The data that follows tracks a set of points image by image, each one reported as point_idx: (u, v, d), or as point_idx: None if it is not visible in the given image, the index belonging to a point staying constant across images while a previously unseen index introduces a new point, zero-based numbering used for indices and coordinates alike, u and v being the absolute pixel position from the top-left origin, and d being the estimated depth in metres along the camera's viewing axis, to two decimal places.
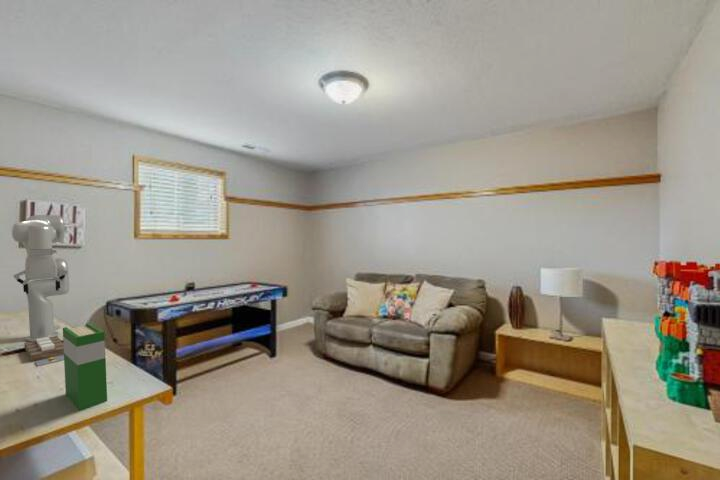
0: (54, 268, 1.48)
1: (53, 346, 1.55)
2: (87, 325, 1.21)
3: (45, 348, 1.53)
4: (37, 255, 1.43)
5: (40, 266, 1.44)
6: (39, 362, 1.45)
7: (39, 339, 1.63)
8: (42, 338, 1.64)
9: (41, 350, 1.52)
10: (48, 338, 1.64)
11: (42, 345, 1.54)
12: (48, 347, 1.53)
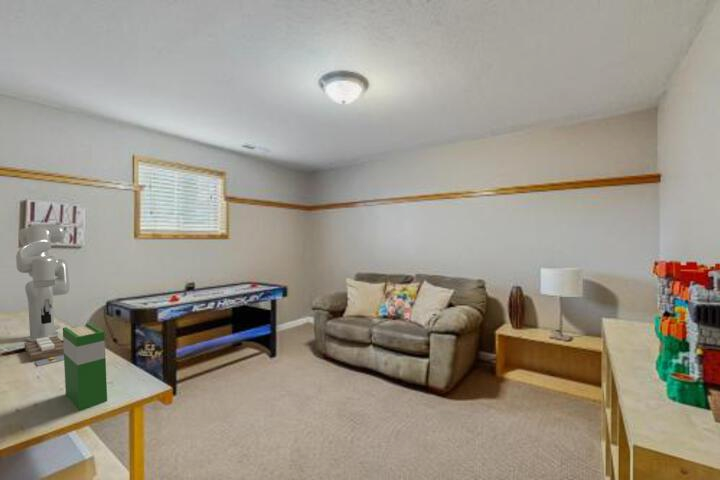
0: None
1: (53, 346, 1.55)
2: (87, 325, 1.21)
3: (45, 348, 1.53)
4: (55, 284, 1.56)
5: None
6: (39, 362, 1.45)
7: (39, 339, 1.63)
8: (42, 338, 1.64)
9: (41, 350, 1.52)
10: (48, 338, 1.64)
11: (42, 345, 1.54)
12: (48, 347, 1.53)
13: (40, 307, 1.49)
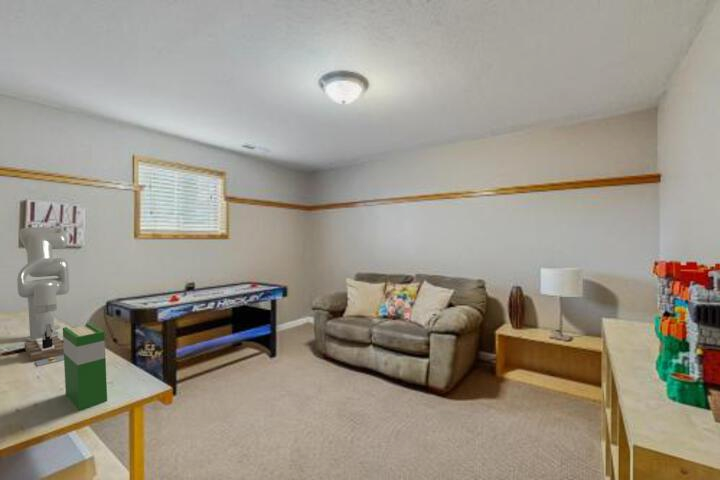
0: None
1: (53, 348, 1.55)
2: (87, 325, 1.21)
3: None
4: (56, 308, 1.56)
5: None
6: (39, 362, 1.45)
7: (39, 339, 1.63)
8: (42, 338, 1.64)
9: None
10: None
11: (42, 347, 1.55)
12: (48, 349, 1.54)
13: (41, 332, 1.49)
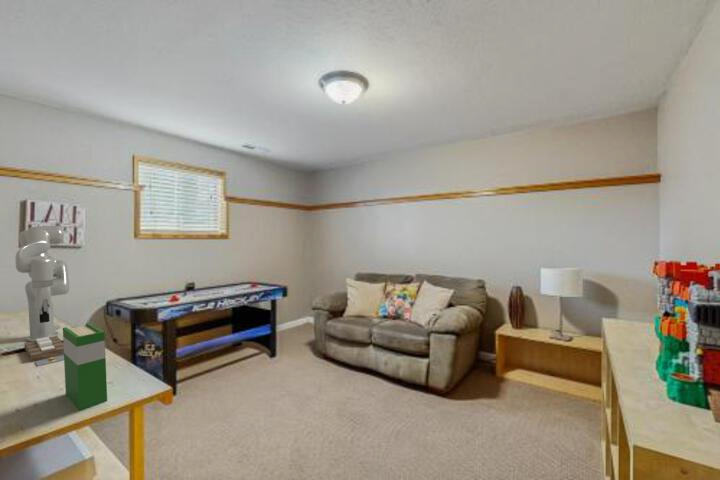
0: None
1: (53, 348, 1.55)
2: (87, 325, 1.21)
3: None
4: (53, 284, 1.59)
5: None
6: (39, 362, 1.45)
7: (39, 339, 1.63)
8: (42, 338, 1.64)
9: None
10: (48, 338, 1.64)
11: (42, 347, 1.55)
12: (48, 349, 1.54)
13: (38, 307, 1.53)
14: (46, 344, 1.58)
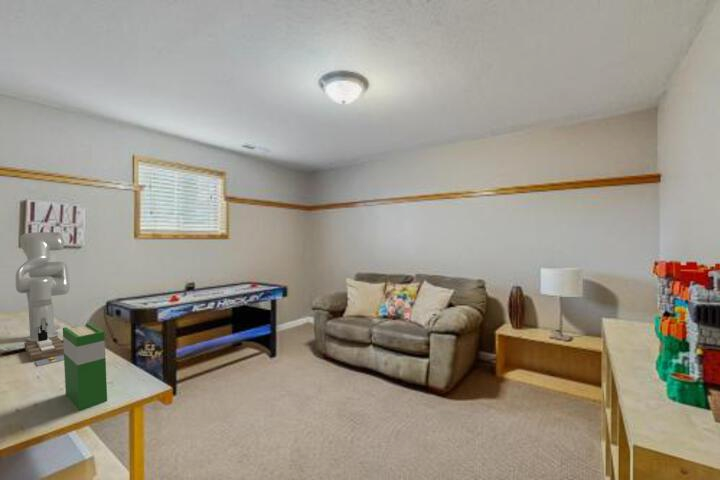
0: None
1: (53, 348, 1.55)
2: (87, 325, 1.21)
3: None
4: (51, 303, 1.65)
5: None
6: (39, 362, 1.45)
7: None
8: None
9: None
10: (48, 339, 1.64)
11: (42, 347, 1.55)
12: (48, 349, 1.54)
13: (37, 326, 1.58)
14: (46, 344, 1.58)
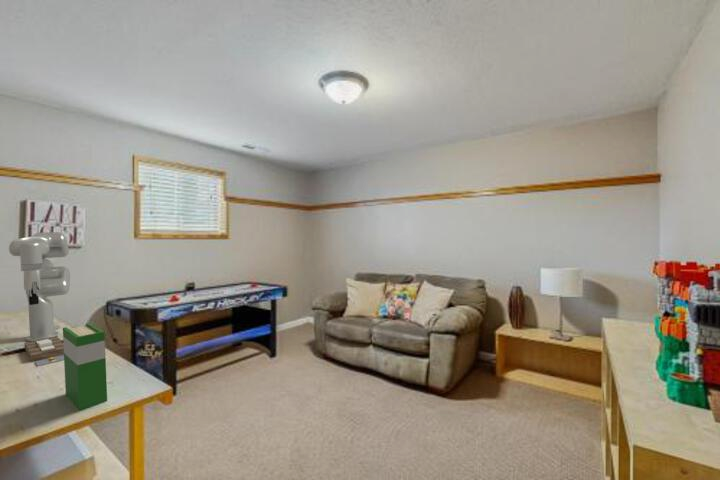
0: None
1: (53, 348, 1.55)
2: (87, 325, 1.21)
3: None
4: (42, 268, 1.64)
5: None
6: (39, 362, 1.45)
7: (39, 341, 1.63)
8: (42, 340, 1.64)
9: None
10: None
11: (42, 347, 1.55)
12: (48, 349, 1.54)
13: (28, 289, 1.58)
14: (46, 344, 1.58)
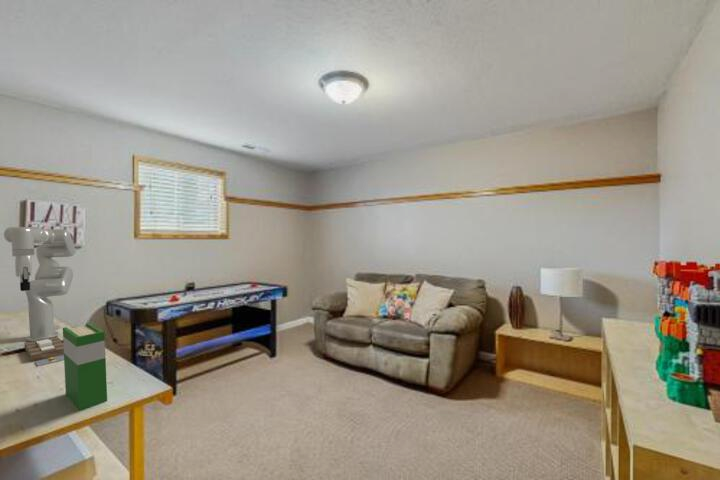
0: None
1: (53, 348, 1.55)
2: (87, 325, 1.21)
3: None
4: (33, 253, 1.62)
5: None
6: (39, 362, 1.45)
7: (39, 341, 1.63)
8: (42, 340, 1.64)
9: None
10: None
11: (42, 347, 1.55)
12: (48, 349, 1.54)
13: (19, 274, 1.56)
14: (46, 344, 1.58)
